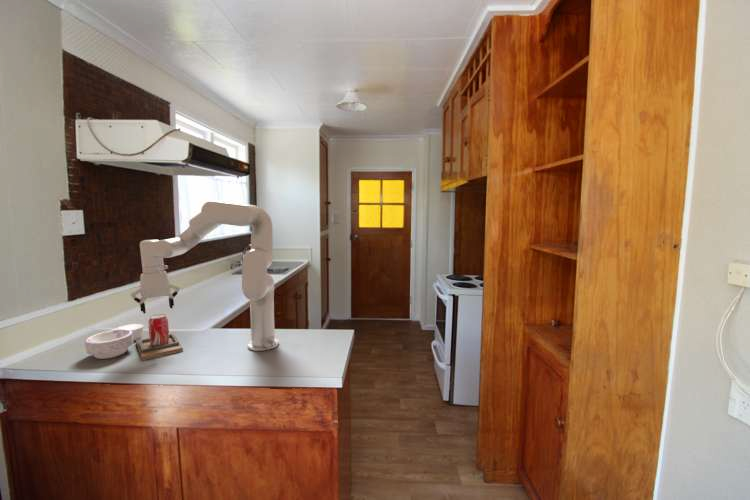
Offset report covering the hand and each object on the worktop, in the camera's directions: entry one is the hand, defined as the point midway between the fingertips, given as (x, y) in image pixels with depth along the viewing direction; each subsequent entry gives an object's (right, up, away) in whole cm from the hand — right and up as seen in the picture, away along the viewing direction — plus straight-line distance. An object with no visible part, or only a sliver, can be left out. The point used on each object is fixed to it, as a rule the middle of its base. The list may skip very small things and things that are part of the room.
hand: (158, 310), depth 145 cm
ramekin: (-20, -15, +12) cm, 28 cm away
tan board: (-1, -16, +2) cm, 16 cm away
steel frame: (-1, -15, +2) cm, 15 cm away
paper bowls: (-16, -17, -5) cm, 24 cm away
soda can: (0, -15, +2) cm, 15 cm away
